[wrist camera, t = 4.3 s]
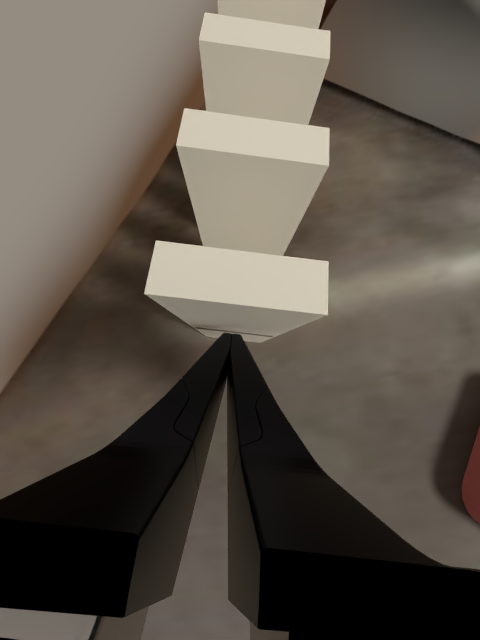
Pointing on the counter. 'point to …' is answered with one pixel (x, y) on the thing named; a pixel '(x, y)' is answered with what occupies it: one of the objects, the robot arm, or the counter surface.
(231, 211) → the domino
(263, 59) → the domino
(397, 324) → the counter surface
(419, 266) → the counter surface
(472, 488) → the plaque
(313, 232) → the counter surface
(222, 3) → the domino
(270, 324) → the domino
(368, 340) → the counter surface
